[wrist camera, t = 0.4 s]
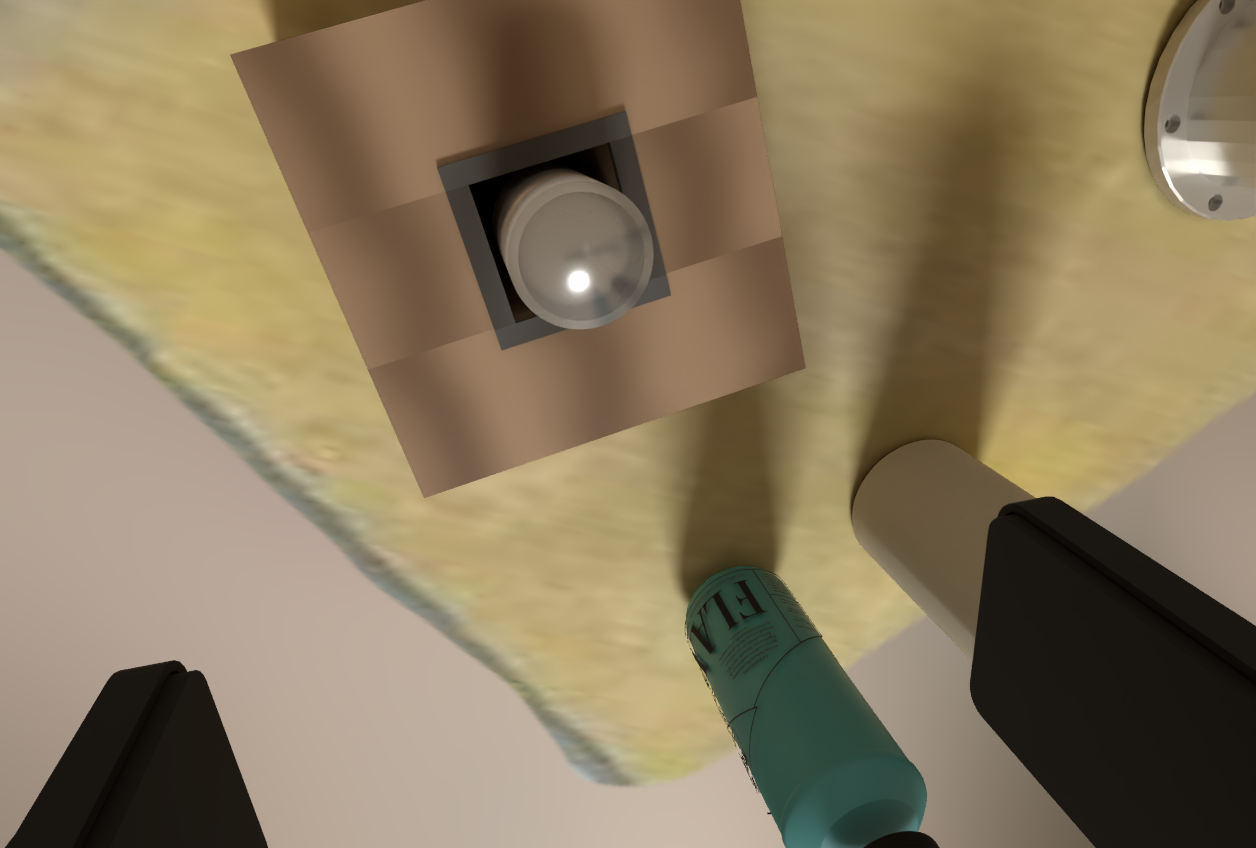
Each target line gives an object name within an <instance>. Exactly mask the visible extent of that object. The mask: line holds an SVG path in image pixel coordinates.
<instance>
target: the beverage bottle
mask: <svg viewBox="0 0 1256 848" xmlns="http://www.w3.org/2000/svg"><path fill="white" fill-rule="evenodd" d="M771 573H772V572H769V571H766V570H764V569H761V568H758V567H753V566H737V567H732V568H728V569H725V570H723V571H720V572H718V573H716V574H714V575H713V576H711V577H710V578H708V579H707V580H706V581H705V582H704V583H703V584H702V585H701V586H700V587H699V588H698V589H697V590H696V592H695V593H694V595H693V596H692V598H691V600H690V602H689V605H688V608H687V613H686V622H685V625H686V628H687V634H688V635H687V636H688V637H689V640H690V642H691V644H692V646H693V649H694V651H695V654H696V655H697V656H695V654H694V653H693V651H692V653H693V656H694V658H695V660H696V661H697V663H698V664H699V666H700V668H701V669H702V670H703V671H704V672H705V674H706V676H707V677H706V678H708V681H709V683H710V685H711V687H712V693H713V691H714V694H715V695H714V697H713V698H717V700H718V702H719V704H720V706H721V708H722V711H723V713H724V714H723V713H722V714H723V716H724V715H725V716H724V717H726V719H727V721H728V723H729V724H727V725H728V727H729V725H730V728H731V730H732V737H733V734H734V737H735V738H734V737H733V738H734V740H733V741H736V742H737V743H738V746H739V748H740V749H741V751H742V754H743V756H744V757H745V760H746V762H745V763H744V765H745V764H746V765H748V766H749V768H750V770H751V773H752V775H753V777H754V779H755V781H756V784H757V786H758V788H759V790H760V792H761V794H762V796H763V798H764V800H765V803H766V805H767V807H768V808H769V810H770V813H768V814H772V816H773V818H774V820H775V822H776V824H777V826H778V828H779V830H780V832H781V835H782V839H783V843H784V845H785V847H786V848H939V847H938V845H937V843H936V842H935V841H934V840H933V839H932V838H931V837H930V836H928V835H926V834H924V833H921V832H918V831H919V828H920V825H921V822H922V819H923V816H924V812H925V807H926V801H927V792H926V786H925V783H924V779H923V777H922V776H921V774H920V772H919V771H918V769H917V768H916V767H915V766H914V764H913V763H912V762H910V761H909V760H908V758H907V757H906V756H905V754H904V753H903V751H902V750H901V749H900V747H899V746H898V744H897V743H896V742H895V741H894V739H893V738H892V736H891V735H890V733H889V732H888V731H887V729H886V728H885V726H884V725H883V724H882V722H881V721H880V720H879V718H878V717H877V716H876V714H875V713H874V712H873V710H872V709H871V707H870V706H869V704H868V703H867V702H866V700H865V699H864V698H863V696H862V695H861V693H860V692H859V690H858V689H857V688H856V686H855V685H854V684H853V682H852V681H851V680H850V678H849V677H848V675H847V674H846V672H845V671H844V670H843V668H842V667H841V666H840V664H839V662H838V661H837V659H835V656H833V653H832V652H831V651H830V649H829V648H828V646H827V645H826V643H825V642H824V640H823V639H822V635H821V634H820V635H821V636H820V635H819V633H818V632H819V631H818V632H817V630H816V629H817V628H816V627H814V626H815V625H814V624H813V625H814V626H813V625H812V623H811V622H812V621H811V622H810V620H809V619H810V618H809V617H807V616H808V615H807V614H806V615H807V616H806V615H805V613H804V612H805V611H804V612H803V610H802V609H803V608H802V607H800V606H799V605H800V604H799V605H798V601H797V602H796V600H795V599H796V598H795V597H793V596H792V595H793V594H792V595H791V593H790V592H791V591H790V590H788V589H789V588H788V587H786V586H785V585H786V584H785V585H784V584H783V582H784V581H783V580H782V581H783V582H782V581H781V580H780V579H779V578H777V577H776V576H774V575H773V574H774V573H773V574H771ZM775 575H776V574H775ZM778 577H779V576H778ZM787 588H788V589H787ZM789 591H790V592H789ZM794 598H795V599H794ZM801 608H802V609H801ZM808 618H809V619H808ZM815 628H816V629H815ZM685 635H686V633H685ZM688 637H687V639H688ZM687 643H689V642H687ZM690 649H691V648H690ZM691 650H692V649H691ZM697 657H698V658H697ZM702 670H701V671H702ZM702 675H703V674H702ZM703 676H705V675H703ZM704 679H705V678H704ZM705 681H707V679H705ZM706 683H707V686H709V684H708V682H706ZM715 700H716V699H715ZM715 702H716V701H715ZM718 707H719V706H718ZM719 708H720V707H719ZM718 710H719V709H718ZM719 712H721V711H720V710H719ZM720 714H721V713H720ZM723 716H722V717H723ZM724 719H725V718H724ZM726 719H725V720H726ZM725 720H724V721H725ZM725 722H726V721H725ZM728 727H727V729H728ZM730 734H731V733H730ZM735 739H736V740H735ZM734 744H735V743H734ZM735 746H736V745H735ZM736 749H737V748H736ZM743 756H742V757H741V758H742V759H744V758H743ZM745 760H744V761H745ZM746 765H745V766H746ZM745 768H746V767H745ZM747 772H748V767H747ZM750 779H751V778H750ZM752 780H753V778H752ZM753 782H754V780H753ZM754 785H755V783H754ZM755 788H756V786H755Z"/></svg>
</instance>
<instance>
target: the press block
mask: <svg viewBox="0 0 1256 848" xmlns="http://www.w3.org/2000/svg"><path fill="white" fill-rule="evenodd" d="M230 56H231V58H232V60H233V63H234V65H235V67H236V69H237V72H238V74H239V76H240V79H241V81H242V83H243V85H244V88H245V90H246V92H247V95H248V97H249V99H250V101H251V104H252V106H253V108H254V111H255V113H256V115H257V117H258V120H259V122H260V124H261V127H262V129H263V131H264V133H265V136H266V138H267V140H268V143H269V145H270V147H271V149H272V152H273V154H274V156H275V159H276V161H277V163H278V165H279V168H280V170H281V172H282V175H283V177H284V179H285V181H286V184H287V186H288V188H289V191H290V193H291V195H292V197H293V200H294V202H295V204H296V207H297V209H298V211H299V213H300V216H301V218H302V220H303V223H304V225H305V227H306V229H307V232H308V234H309V236H310V239H311V241H312V243H313V245H314V248H315V250H316V252H317V255H318V257H319V259H320V261H321V264H322V266H323V268H324V271H325V273H326V275H327V277H328V280H329V282H330V284H331V286H332V289H333V291H334V293H335V296H336V298H337V300H338V302H339V305H340V307H341V309H342V312H343V314H344V316H345V318H346V321H347V323H348V325H349V328H350V330H351V332H352V334H353V337H354V339H355V341H356V344H357V346H358V348H359V350H360V353H361V355H362V357H363V360H364V362H365V364H366V366H367V369H368V371H369V373H370V376H371V378H372V380H373V382H374V385H375V387H376V389H377V392H378V394H379V396H380V398H381V401H382V403H383V405H384V408H385V410H386V412H387V414H388V417H389V419H390V421H391V424H392V426H393V428H394V430H395V433H396V435H397V437H398V440H399V442H400V444H401V446H402V449H403V451H404V453H405V456H406V458H407V460H408V462H409V465H410V467H411V469H412V472H413V474H414V476H415V478H416V481H417V483H418V485H419V488H420V490H421V492H422V494H423V497H424V498H426V497H429V496H432V495H435V494H438V493H441V492H443V491H446V490H449V489H452V488H455V487H458V486H461V485H464V484H467V483H470V482H473V481H476V480H479V479H482V478H485V477H487V476H490V475H493V474H496V473H499V472H502V471H505V470H508V469H511V468H514V467H517V466H520V465H523V464H526V463H529V462H531V461H534V460H537V459H540V458H543V457H546V456H549V455H552V454H555V453H558V452H561V451H564V450H567V449H570V448H573V447H575V446H578V445H581V444H584V443H587V442H590V441H593V440H596V439H599V438H602V437H605V436H608V435H611V434H614V433H617V432H619V431H622V430H625V429H628V428H631V427H634V426H637V425H640V424H643V423H646V422H649V421H652V420H655V419H658V418H660V417H663V416H666V415H669V414H672V413H675V412H678V411H681V410H684V409H687V408H690V407H693V406H696V405H699V404H702V403H704V402H707V401H710V400H713V399H716V398H719V397H722V396H725V395H728V394H731V393H734V392H737V391H740V390H743V389H746V388H748V387H751V386H754V385H757V384H760V383H763V382H766V381H769V380H772V379H775V378H778V377H781V376H784V375H787V374H790V373H792V372H795V371H798V370H801V369H804V368H805V363H804V357H803V351H802V346H801V340H800V335H799V329H798V323H797V318H796V312H795V307H794V301H793V295H792V290H791V284H790V278H789V273H788V267H787V262H786V256H785V250H784V245H783V239H782V233H781V228H780V222H779V217H778V211H777V205H776V200H775V194H774V189H773V183H772V177H771V172H770V166H769V160H768V155H767V149H766V144H765V138H764V132H763V127H762V121H761V115H760V110H759V104H758V99H757V93H756V87H755V82H754V76H753V71H752V65H751V59H750V54H749V48H748V42H747V37H746V31H745V26H744V20H743V14H742V9H741V3H740V0H425V1H421V2H418V3H414V4H410V5H407V6H403V7H400V8H396V9H392V10H389V11H385V12H382V13H378V14H375V15H371V16H367V17H364V18H360V19H357V20H353V21H349V22H346V23H342V24H339V25H335V26H331V27H328V28H324V29H321V30H317V31H313V32H310V33H306V34H303V35H299V36H295V37H292V38H288V39H285V40H281V41H278V42H274V43H270V44H267V45H263V46H260V47H256V48H252V49H249V50H245V51H242V52H238V53H234V54H231V55H230ZM576 152H578V154H579V158H580V161H581V165H582V169H583V172H584V175H586V176H588V177H590V178H592V179H595V180H597V181H599V182H601V183H603V184H605V185H608V186H610V187H612V188H614V189H616V190H618V191H619V192H621V193H622V194H624V195H625V196H626V197H627V198H629V199H630V200H631V201H632V202H633V203H634V204H635V205H636V207H637V208H638V209H639V210H640V212H641V213H642V215H643V217H644V218H645V220H646V222H647V225H648V227H649V230H650V233H651V237H652V242H653V253H654V256H653V266H652V271H651V275H650V278H649V281H648V284H647V286H646V288H645V290H644V292H643V293H642V295H641V297H640V298H639V300H638V301H637V302H636V303H635V304H634V306H633V307H632V308H631V309H629V310H628V311H627V312H626V313H625V314H624V315H622V316H621V317H619V318H618V319H616V320H614V321H612V322H611V323H608V324H606V325H603V326H600V327H596V328H591V329H568V328H563V327H560V326H556V325H554V324H551V323H549V322H547V321H545V320H543V319H542V318H540V317H539V316H537V315H536V314H535V313H534V312H532V311H531V310H530V309H529V308H528V307H527V306H526V305H525V303H524V302H523V301H522V299H521V298H520V296H519V295H518V293H517V291H516V289H515V287H514V285H513V282H512V280H511V277H510V276H507V277H504V278H501V279H500V276H499V273H498V270H497V267H496V264H495V261H494V258H493V255H492V252H491V249H490V246H489V243H488V240H487V238H486V235H485V232H484V229H483V226H482V223H481V220H480V217H479V214H478V211H477V208H476V205H475V202H474V199H473V196H472V194H471V191H470V188H469V185H470V184H473V183H477V182H480V181H483V180H487V179H490V178H493V177H497V176H500V175H503V174H506V173H510V172H513V171H516V170H520V169H523V168H526V167H530V166H533V165H536V164H539V163H543V162H546V161H549V160H553V159H556V158H559V157H562V156H566V155H569V154H572V153H576Z"/></svg>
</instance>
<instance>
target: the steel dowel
mask: <svg viewBox="0 0 1256 848" xmlns="http://www.w3.org/2000/svg"><path fill="white" fill-rule="evenodd" d="M493 232H494V236H495V240H496V242H497V245H498V247H499V250H500V252H501V255H502V257H503V260H504V262H505V265H506V267H507V270H508V272H509V275H510V277H511V280H512V282H513V285H514V287H515V289H516V291H517V293H518V295H519V296H520V298H521V299H522V301H523V302H524V303H525V305H526V306H527V307H528V308H529V309H530V310H531V311H532V312H534V313H535V314H536V315H537V316H539V317H540V318H542V319H543V320H545V321H547V322H549V323H551V324H554V325H556V326H560V327H563V328H568V329H591V328H596V327H600V326H603V325H606V324H608V323H611V322H612V321H614V320H616V319H618V318H619V317H621V316H622V315H624V314H625V313H626V312H627V311H628V310H629V309H631V308H632V307H633V306H634V304H635V303H636V302H637V301H638V300H639V298H640V297H641V295H642V293H643V292H644V290H645V288H646V286H647V284H648V281H649V278H650V275H651V271H652V266H653V256H654V253H653V242H652V237H651V233H650V230H649V227H648V225H647V222H646V220H645V218H644V217H643V215H642V213H641V212H640V210H639V209H638V208H637V207H636V205H635V204H634V203H633V202H632V201H631V200H630V199H629V198H627V197H626V196H625V195H624V194H622V193H621V192H619V191H618V190H616V189H614V188H612V187H610V186H608V185H605V184H603V183H601V182H599V181H597V180H595V179H592V178H590V177H588V176H586V175H584V174H582V173H580V172H577V171H575V170H573V169H571V168H568V167H565V166H562V165H557V164H540V165H535V166H531V167H529V168H526V169H524V170H522V171H521V172H519V173H517V174H516V175H515V176H513V177H512V178H511V179H510V180H509V181H508V182H507V183H506V185H505V186H504V187H503V188H502V190H501V192H500V194H499V195H498V198H497V200H496V203H495V207H494V211H493Z"/></svg>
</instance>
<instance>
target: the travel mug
mask: <svg viewBox="0 0 1256 848" xmlns="http://www.w3.org/2000/svg"><path fill="white" fill-rule="evenodd" d="M1030 499H1036V498H1035V497H1033V496H1032V495H1030V494H1029V493H1027V492H1026V491H1024V490H1023V489H1021V488H1020V487H1018V486H1017V485H1015V484H1014V483H1012V482H1011V481H1009V480H1008V479H1006V478H1005V477H1003V476H1001V475H1000V474H998V473H997V472H995V471H994V470H992V469H991V468H989V467H988V466H986V465H985V464H983V463H982V462H980V461H979V460H977V459H976V458H974V457H973V456H971V455H969V454H968V453H966V452H965V451H963V450H962V449H960V448H959V447H957V446H956V445H953V444H951V443H949V442H946V441H941V440H921V441H916V442H913V443H909V444H907V445H904V446H902V447H900V448H898V449H896V450H894V451H893V452H891V453H889V454H888V455H887V456H885V457H884V458H883V459H882V460H880V461H879V462H878V463H877V464H876V465H875V466H874V467H873V468H872V470H871V471H870V472H869V473H868V475H867V476H866V477H865V479H864V480H863V482H862V484H861V486H860V488H859V490H858V492H857V494H856V497H855V501H854V505H853V511H852V523H853V529H854V533H855V536H856V538H857V540H858V542H859V543H860V545H861V546H862V547H863V548H864V550H865V551H866V552H867V553H868V554H869V555H870V556H871V557H872V558H873V559H874V560H875V561H876V562H877V563H878V564H879V565H880V566H881V567H882V568H883V569H884V570H885V571H886V573H887V574H888V575H889V576H890V577H891V578H892V579H893V580H894V581H895V582H896V583H897V584H898V585H899V586H900V587H901V588H902V589H903V590H904V591H905V592H906V593H907V594H908V596H909V597H910V598H911V599H912V600H913V601H914V602H915V603H916V604H917V605H918V606H919V607H920V608H921V609H922V610H923V611H924V612H925V613H926V614H927V615H928V616H929V617H930V618H931V620H932V621H933V622H935V624H936V625H937V626H938V627H939V628H940V629H941V630H942V631H943V632H944V633H945V634H946V635H947V636H948V637H949V638H950V639H951V640H952V641H953V643H955V645H956V646H957V647H958V648H959V649H960V650H961V651H962V652H963V653H964V654H965V655H966V656H967V657H968V658H969V659H970V660H971V661H972V662H973V653H974V645H975V636H976V628H977V620H978V611H979V603H980V594H981V586H982V577H983V569H984V561H985V552H986V544H987V535H988V529H989V525H990V523H991V521H992V520H993V519H995V518H997V517H998V514H999V511H1000V510H1001V509H1002V507H1003V506H1005V505H1007V504H1009V503H1014V502H1020V501H1025V500H1030Z"/></svg>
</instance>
